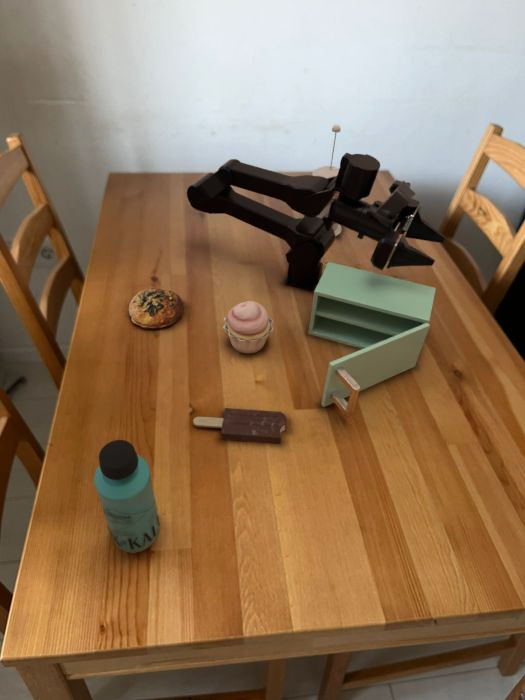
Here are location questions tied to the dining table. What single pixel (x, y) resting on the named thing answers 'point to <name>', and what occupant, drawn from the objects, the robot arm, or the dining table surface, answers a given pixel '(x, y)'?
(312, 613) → the dining table surface
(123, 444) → the beverage bottle
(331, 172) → the french press
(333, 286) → the fridge
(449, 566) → the dining table surface
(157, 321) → the bread roll
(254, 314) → the cupcake
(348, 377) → the fridge door
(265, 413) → the ice cream bar
